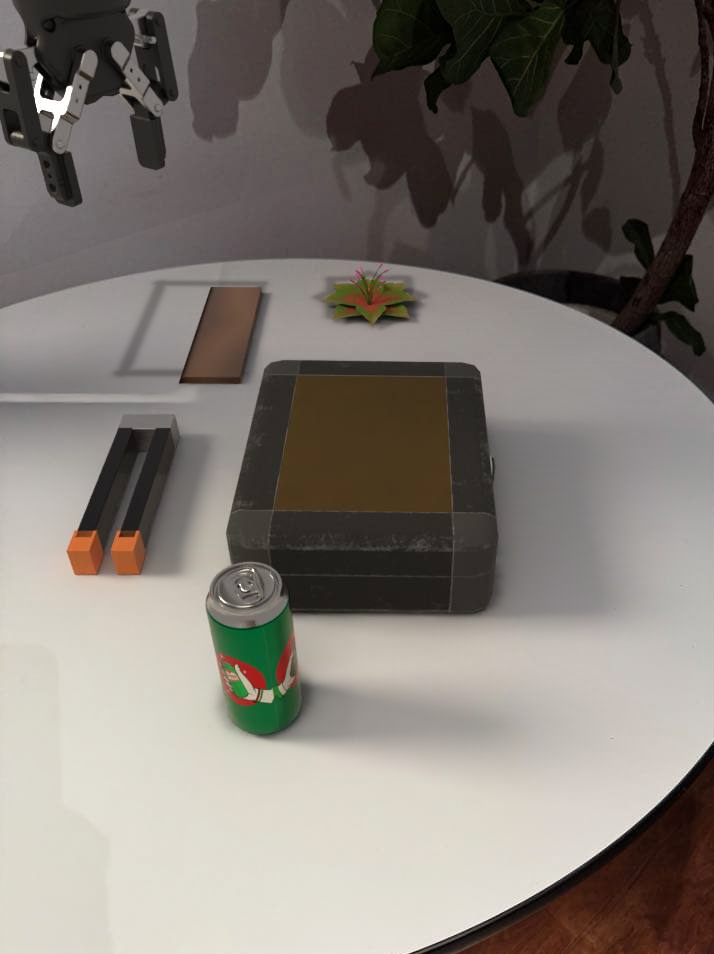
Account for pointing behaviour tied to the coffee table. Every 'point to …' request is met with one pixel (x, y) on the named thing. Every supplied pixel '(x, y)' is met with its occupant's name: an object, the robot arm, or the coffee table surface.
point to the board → (222, 336)
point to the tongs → (99, 515)
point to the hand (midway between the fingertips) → (112, 184)
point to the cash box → (370, 486)
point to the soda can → (255, 646)
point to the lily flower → (369, 298)
